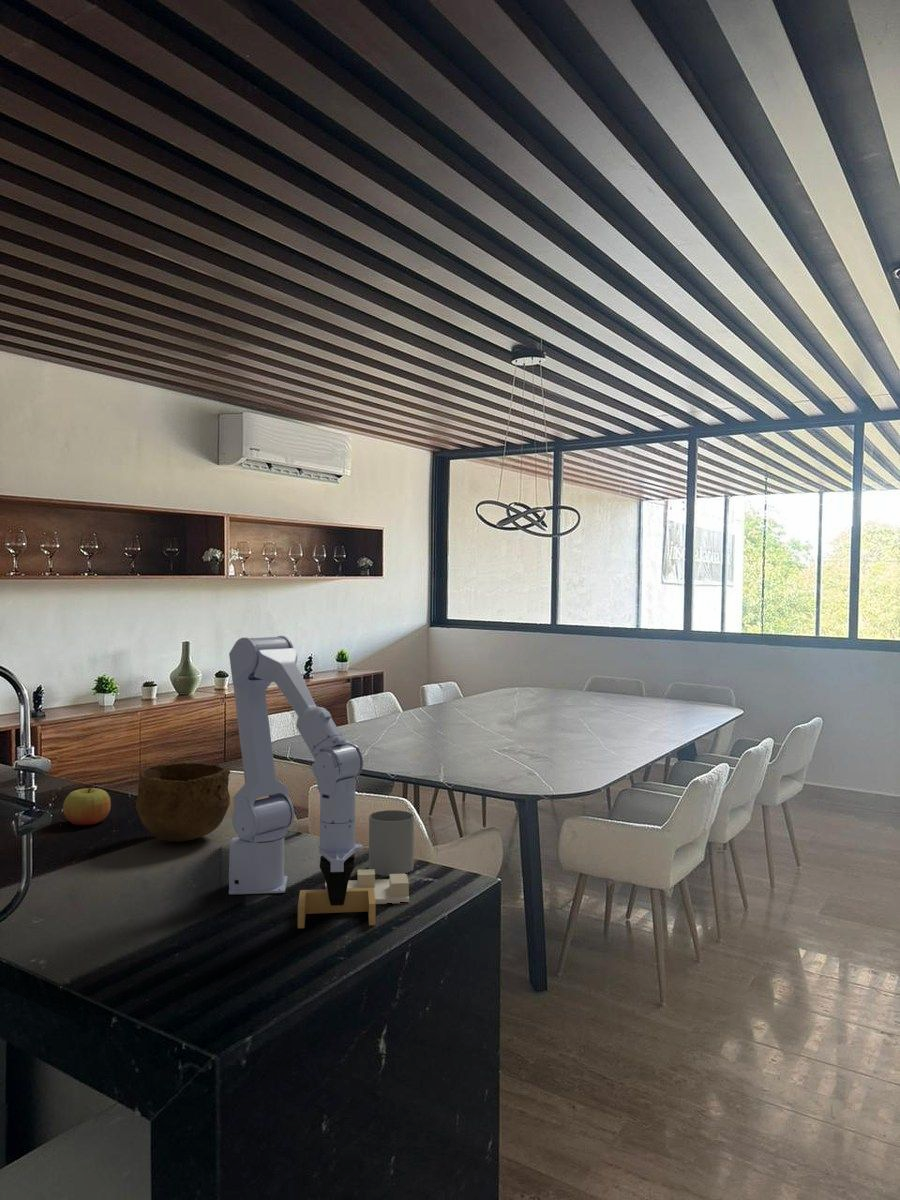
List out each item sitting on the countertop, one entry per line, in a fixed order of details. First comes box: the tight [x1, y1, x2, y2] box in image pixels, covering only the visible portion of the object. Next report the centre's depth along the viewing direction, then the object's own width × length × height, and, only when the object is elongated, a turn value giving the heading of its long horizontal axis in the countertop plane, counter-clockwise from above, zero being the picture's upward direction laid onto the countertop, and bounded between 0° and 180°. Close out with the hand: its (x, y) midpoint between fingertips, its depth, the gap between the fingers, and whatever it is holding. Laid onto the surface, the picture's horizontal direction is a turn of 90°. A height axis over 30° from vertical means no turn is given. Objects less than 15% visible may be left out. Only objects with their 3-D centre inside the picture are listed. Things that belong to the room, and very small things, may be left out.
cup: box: [368, 809, 415, 877], centre depth 163 cm, size 8×8×10 cm
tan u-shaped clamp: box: [297, 888, 377, 929], centre depth 138 cm, size 7×12×3 cm, turn 97°
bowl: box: [135, 761, 231, 843], centre depth 181 cm, size 19×19×15 cm
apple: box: [62, 787, 112, 826], centre depth 194 cm, size 10×10×8 cm
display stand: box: [324, 868, 410, 905], centre depth 149 cm, size 10×14×3 cm
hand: (337, 902), depth 141 cm, fingers closed on tan u-shaped clamp
